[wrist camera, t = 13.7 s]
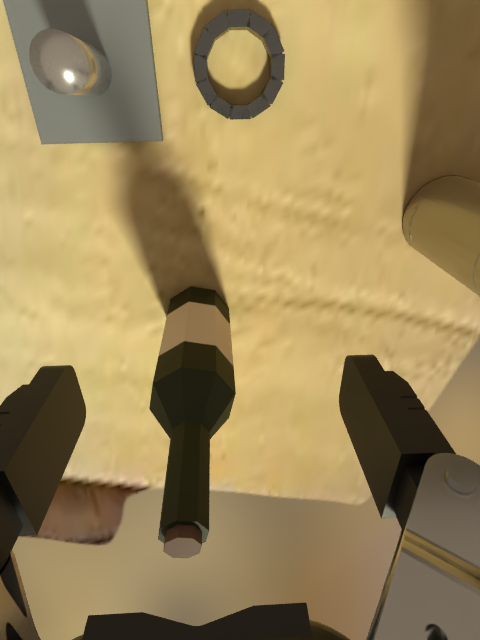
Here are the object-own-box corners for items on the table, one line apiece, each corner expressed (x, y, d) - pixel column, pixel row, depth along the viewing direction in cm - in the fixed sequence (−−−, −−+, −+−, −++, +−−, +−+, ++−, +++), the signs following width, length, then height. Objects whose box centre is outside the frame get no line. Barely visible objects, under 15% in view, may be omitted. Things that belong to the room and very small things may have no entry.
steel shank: (106, 43, 33) (78, 28, 26) (115, 95, 35) (91, 93, 28) (61, 44, 33) (21, 28, 26) (72, 96, 35) (38, 95, 28)
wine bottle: (175, 344, 51) (139, 589, 26) (158, 292, 47) (94, 522, 21) (234, 334, 51) (257, 570, 25) (222, 280, 47) (235, 498, 21)
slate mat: (145, -13, 32) (144, -16, 31) (163, 140, 38) (162, 141, 37) (4, -12, 31) (-2, -15, 31) (45, 143, 38) (41, 144, 37)
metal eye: (283, 12, 33) (286, 9, 32) (280, 117, 38) (282, 118, 36) (191, 13, 33) (190, 10, 32) (198, 119, 37) (198, 120, 36)
